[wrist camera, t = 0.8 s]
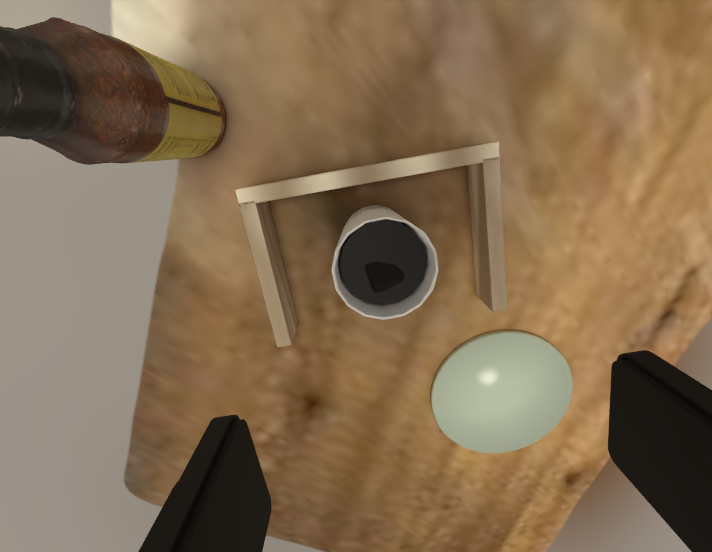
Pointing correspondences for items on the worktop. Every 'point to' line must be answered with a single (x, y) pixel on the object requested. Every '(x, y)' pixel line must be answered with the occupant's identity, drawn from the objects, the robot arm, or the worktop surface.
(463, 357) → the disc
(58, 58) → the sauce bottle
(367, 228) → the white coffee cup
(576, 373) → the worktop surface
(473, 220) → the frame
